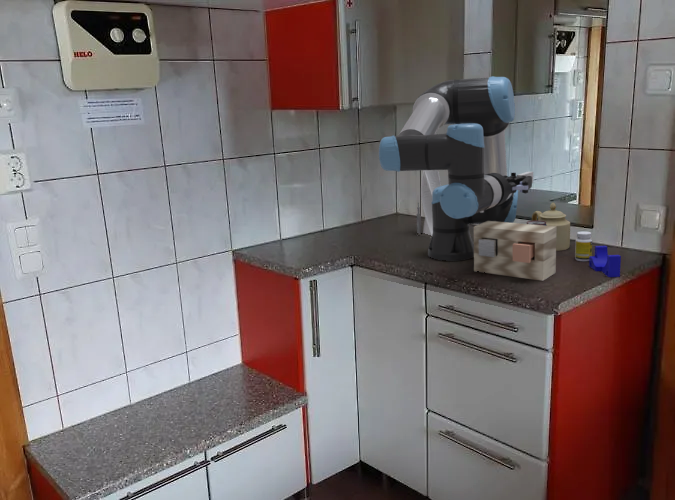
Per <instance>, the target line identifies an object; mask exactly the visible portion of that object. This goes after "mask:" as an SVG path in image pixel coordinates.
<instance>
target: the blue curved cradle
mask: <svg viewBox="0 0 675 500" xmlns="http://www.w3.org/2000/svg"><path fill="white" fill-rule="evenodd" d="M621 257H622V256H621V255H620V254H609V253H608V246H607V245H595V246H594V255H592V256H589V261H588V267H590V268H591V269H592V270H593V271H594V272H602V273H603V274H604V275H605V276H606V277H608V278H619V277H621V260H622V258H621Z"/></svg>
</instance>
